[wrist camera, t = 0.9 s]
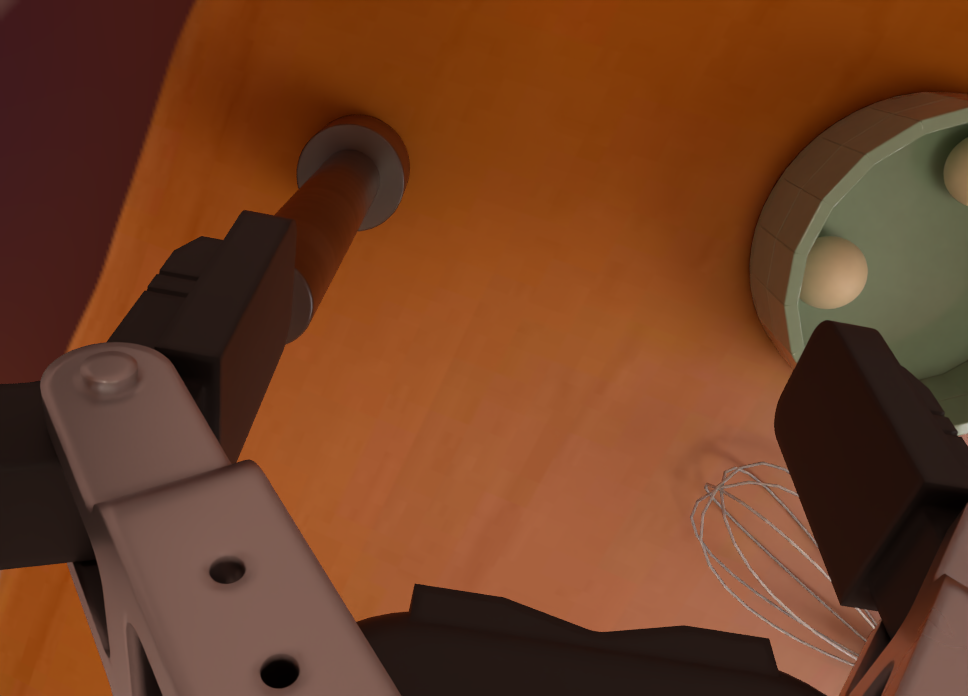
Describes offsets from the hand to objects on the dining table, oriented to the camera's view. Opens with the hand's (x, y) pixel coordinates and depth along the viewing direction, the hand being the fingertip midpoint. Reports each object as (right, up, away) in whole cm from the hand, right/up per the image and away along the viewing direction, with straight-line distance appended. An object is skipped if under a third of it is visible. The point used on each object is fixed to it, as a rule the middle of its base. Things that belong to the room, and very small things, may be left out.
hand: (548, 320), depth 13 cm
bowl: (+18, +4, +26) cm, 32 cm away
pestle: (-6, +8, +24) cm, 26 cm away
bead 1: (+14, +3, +24) cm, 28 cm away
